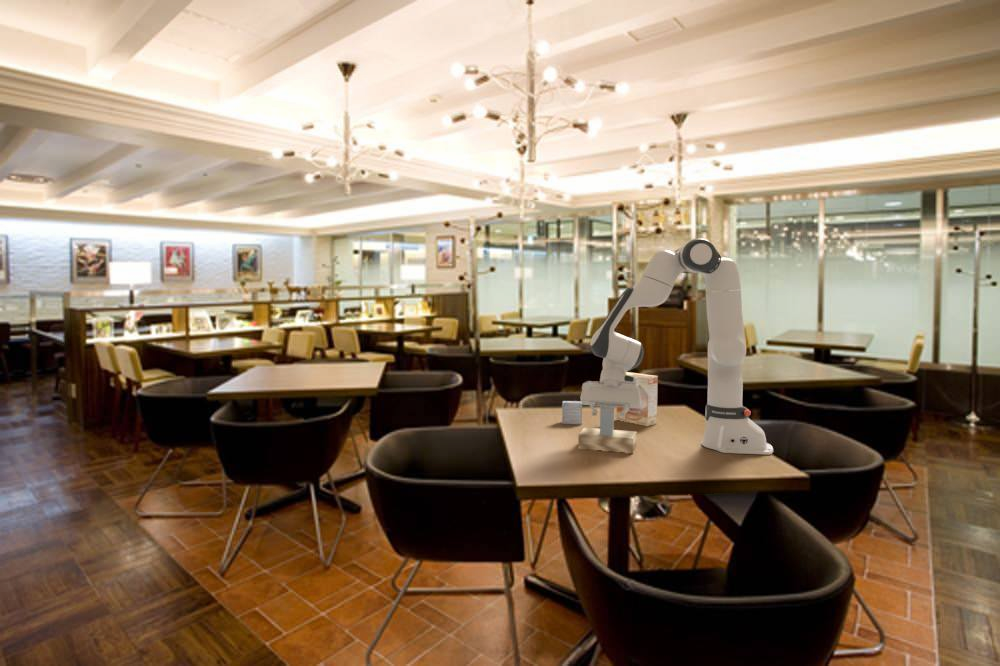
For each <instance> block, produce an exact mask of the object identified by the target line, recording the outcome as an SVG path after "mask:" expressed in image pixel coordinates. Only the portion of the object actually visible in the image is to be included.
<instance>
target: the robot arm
mask: <svg viewBox="0 0 1000 666" xmlns="http://www.w3.org/2000/svg"><path fill="white" fill-rule="evenodd" d="M683 273H684V274H701V276H702V277H703V278H704V282H705V299H706V300H705V301H706V317H707V326H708V328H707V329H708V337H709V340H708V343H707V403H706V405H705V413H704V414H705V415H704V416H705V417H704V418H705V420H706V421H705V427H704V432H703V433H704V434H703V436H702V440H701V442H700V444H701V445H702V446H704V447H705V448H707V449H711V450H715V451H718V452H720V453H723V454H740V455H741V454H742V455H743V454H744V455H747V454H748V455H766V456H767V455H768V456H769V455H771V454H773V453H774V448H773V446H772V445H771V443H768V442H767V438H766V433H765V431H764V430H763V429H762V428H761V426H759V425H758V424H756V423H755V422H754V421H753V420H752V419H751V418H750V416H751V412H752V411H751V410H750V409H749V408H747V407H746V406H744V405H743V391H744V389H743V388H744V384H743V383H744V382H743V367H742V366H743V363H742V362H743V361H744V359H745V358H746V356H747V355H746V354H747V343H746V342H747V341H746V340H747V339H746V333H745V332H746V330H745V324H744V316H743V305H742V303H743V302H742V287H741V278H740V273H739V269H738V265H737V263H736V261H734V260H733V259H731V258H728V257H722V256H721V254H720V253H719V251H718V250H717V248H716V247H715V245H714V244H713V242H711V241H710V240H708V239H706V238H702V237H701V238H700V237H699V238H694V239H691V240H689V241H686V242H685V243H684V244H683V245H682V246H681V247H679V248H677V250H675V251H671V250H669V249H660V250H658V251H656V252H655V253H654V254H653V256H652V257H651V259H650V260H649V262H648V263H647V265H646V266H645V269H644V271H643V272H642V276H641V277H640V278H639V281H638V282H636V284H635V285H634V286H630V287H627V288H626V289H624V290H623V292H622V293H621V294H620V296H619V298H618V299H617V300H616V302H615V303H614V305H613V307H612V308H611V309H610V311H609V313H608V314H607V316H606V317H605V319H604V320H603V322H602V323H601V324H600V326H599V327H598V329H597V330H596V331H595V332H594V334H593V335H592V336H591V339H590V342H589V347H590V350H591V351H592V354H593V355H594V356H596V357H599V358H602V359H603V360H602V370H601V373H600V378H599V381H598V380H597V381H592V380H587V381H585V382H583V383H582V385H581V390H582V391H581V393H580V401H581V403H582V406H589V407H590V409H591V416H595V417H596V416H597V414H598V410H597V409H596V408H595V407H614V408H617V407H623V408H625V409H624V410H623V411H620V417H621V418H625V414H626V413H627V412H628V411H629V408H639V407H640V405H641V401H640V391H639V387H638V381H637V378H635V377H632V376H629V375H626V372H629V371H632V370H633V369H635V368H637V367H638V366H640V364H641V363H642V361H643V358H644V353H645V350H644V347H643V343H642V342H640V341H638V340H637V339H633V338H631V337H629V336H626V335H624V334H621V333H618V332H616V331H615V329H616V328H617V326H618V324H619V323H620V322H621V320H622V318H623V317H624V315H625V314H626V312H627V311H628V310H631V309H632V308H639V307H641V308H642V307H644V308H646V307H647V308H649V307H650V308H653V307H657V306H660V305H662V304H664V303H665V302H667V300H668V298H669V297H670V295H671V293H672V290H673V288H674V286H675V283H676V281H677V279H678V278H679V276H680V275H681V274H683Z"/></svg>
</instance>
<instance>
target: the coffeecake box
mask: <svg viewBox="0 0 1000 666" xmlns="http://www.w3.org/2000/svg"><path fill="white" fill-rule="evenodd" d="M626 375H629V376H632V377H635V378H637V381H638V387H639V391H640V401H641V405H640V407H639V408H629V411H628V412H627V413H626V414H625V418H621V417H620V411H623V410H624V409H625V408H623V407H616V415H615V416H616V419H617V420H616V421H618V420H620V421H619V422H623V421H624V423H628V422H629V424H633V423H634V425H638V424H639V426H643V425H644V427H651V426H654V425H657V424H658V417H657V416H658V384H659V383H658V380H659V376H658V375H654V374H653V375H652V374H645V373H640V372H639V373H637V372H629V371H627V372H626ZM650 425H651V426H650Z"/></svg>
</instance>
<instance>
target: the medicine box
mask: <svg viewBox="0 0 1000 666" xmlns="http://www.w3.org/2000/svg"><path fill="white" fill-rule="evenodd" d="M561 412H562V413H561V420H562V421H561V424H562V425H583V404H582V403H581V400H579V401H578V400H563V401H562V403H561Z"/></svg>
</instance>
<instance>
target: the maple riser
mask: <svg viewBox="0 0 1000 666" xmlns="http://www.w3.org/2000/svg"><path fill="white" fill-rule="evenodd" d="M637 435H638V434H637V431H633V430H619V429H614V434H613V436H602V435H600V428H596V427H595V428H594V427H583V428H582V429H581V431H580V432H579V433H578V443H577V444H578V445H577V446H578V447H577V448H578V450H579V449H580V450H587V449H589V451H597V450H602V451H601V452H608V451H615V452H614V453H619V452H625V453H624V454H629V453H633V452H634V453H635V451H634V450H636V449H637V438H638V437H637ZM634 453H633V454H634Z"/></svg>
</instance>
